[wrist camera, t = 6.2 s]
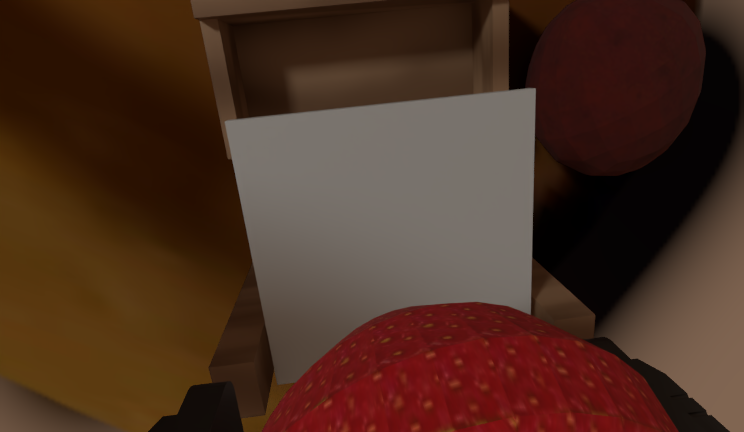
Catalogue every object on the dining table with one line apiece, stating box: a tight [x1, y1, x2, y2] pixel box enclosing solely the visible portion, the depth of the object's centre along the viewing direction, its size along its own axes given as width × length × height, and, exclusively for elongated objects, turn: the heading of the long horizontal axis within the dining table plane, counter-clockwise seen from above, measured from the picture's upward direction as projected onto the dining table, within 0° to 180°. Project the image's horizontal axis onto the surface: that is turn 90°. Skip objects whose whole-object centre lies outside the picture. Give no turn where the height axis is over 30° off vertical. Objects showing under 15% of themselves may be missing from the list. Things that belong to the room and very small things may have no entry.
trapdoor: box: [225, 88, 536, 385], centre depth 21 cm, size 20×13×4 cm, turn 6°
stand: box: [191, 0, 595, 418], centre depth 26 cm, size 26×18×15 cm
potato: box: [525, 0, 706, 176], centre depth 28 cm, size 12×11×8 cm
